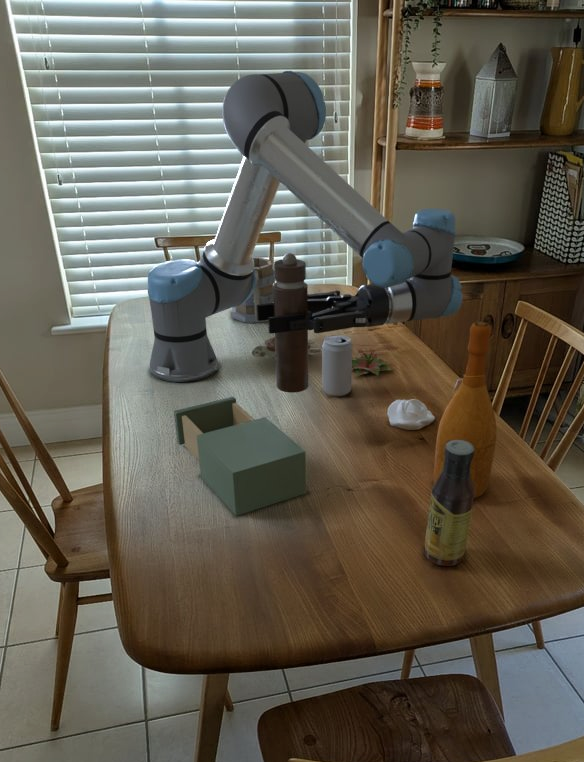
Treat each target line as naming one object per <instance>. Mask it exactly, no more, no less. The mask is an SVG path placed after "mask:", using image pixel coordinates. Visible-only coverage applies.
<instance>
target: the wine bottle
mask: <svg viewBox="0 0 584 762" xmlns="http://www.w3.org/2000/svg"><path fill="white" fill-rule="evenodd" d="M492 332H493V329H492V325H491V324H489V323H488V322H485V321H476V322H474V323H472V324H471V326H470V328H469V340H468V341H469V342H468V344H467V351H468V359H467V365H466V368H465V372H464V374H462V376H463V377H461V378H457V379H456V382H455V384H454V387H453V392H452V393H454V394H453V396H452V397H451V399H450V400H449V402H448V404H447V406H446V408H445V410H444V411H443V414H442V416H441V419H440V421H439V426H438V429H437V435H436V443H435V453H434V466H433V467H434V468H433V486H434V485H435V483H436V481H437V479H438V478H439V476H440V474H441V472H442V470H443V467H444V460H445V454H444V451H445V446H446V444H447V443H448V442H450V441H453V440H463V441H466V442H469V443H471V444H472V445H473V447H474V457H473V458H472V460H471V466H470V474H469V476H470V478H471V479H472V481H473V484H474V489H475V492H474V498H473V499H477V498H479V497H480V496H483V494H485V492H486V491H487V489H488V486H489V482H490V478H491V473H492V467H493V461H494V456H495V450H496V443H497V428H498V427H497V419H496V415H495V414H496V413H495V411H494V407H493V403H492V400H491V397H490V394H489V390H488V387H487V383H486V372H485V371H486V370H485V368H486V361H487V354H488V353H489V351H490V340H491V336H492Z"/></svg>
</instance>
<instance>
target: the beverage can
mask: <svg viewBox="0 0 584 762" xmlns="http://www.w3.org/2000/svg"><path fill="white" fill-rule="evenodd" d="M321 347H322V348H321V350H322V353H321V354H322V355H321V358H322V359H321V374H322V375H321V381H322V382H321V388H322V391H323V392H324V393H325V394H326V395H328V396H330V397H343V396H347V395H348V393H350V392H351V391H352V382H353V381H352V379H353V377H352V376H353V368H352V360H353V344H352V339H351V338H350V337H348V336H346V335H341V334H331V335H328V336H326V337H324V338H323V343H322V345H321Z"/></svg>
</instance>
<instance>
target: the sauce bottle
mask: <svg viewBox="0 0 584 762" xmlns="http://www.w3.org/2000/svg"><path fill="white" fill-rule="evenodd" d="M444 454H445V460H444V467H443V470H442V472H441V474H440V476H439V478H438V479H437V481H436V483H435V485H434V484H433V487H432V488H431V491H430V501H429V505H428V513H427V515H428V516H427V523H426V531H425V540H424V548H425V549H424V554H425V555H424V556H426V558H427V560H429V561H430V562H431V563H432V564H434V565H436V566H442V567H452V566H455V565H458V564H459V563H461V562H462V561H463V558H464V554H465V552H466V547H467V542H468V536H469V531H470V524H471V519H472V515H473V508H474V499H475V498H474V492H475V489H474V484H473V481H472V479H471V478H470V476H469V474H470V466H471V460H472V458H473V457H474V447H473V445H472V444H471V443H469V442H466V441H463V440H453V441H450V442H448V443H447V444H446V446H445V451H444Z"/></svg>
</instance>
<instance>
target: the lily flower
mask: <svg viewBox="0 0 584 762" xmlns="http://www.w3.org/2000/svg"><path fill="white" fill-rule="evenodd" d="M371 349H372V347H370V349H369V350H371ZM359 350H360V356H356V357H355V359H352V369H355V370H354V372H355V374H356V375H357V377H359V376H361V375H365V374H368V373H370V372H371V373H372V374H374V375H376V376H377V377H379V373H380V372H381V371H393V369H392V368H391V367H389V365H385V364H389V363H391V362H390V361H387V360H385V359H381V358H379V356H378V353H376V351H375V349H373V350H371V351H369V353H368V354H367V349H366V347H365V346H364V350H365V352H364V351H363V350H362V348H359ZM374 353H375V354H374ZM373 354H374V356H373Z"/></svg>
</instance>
